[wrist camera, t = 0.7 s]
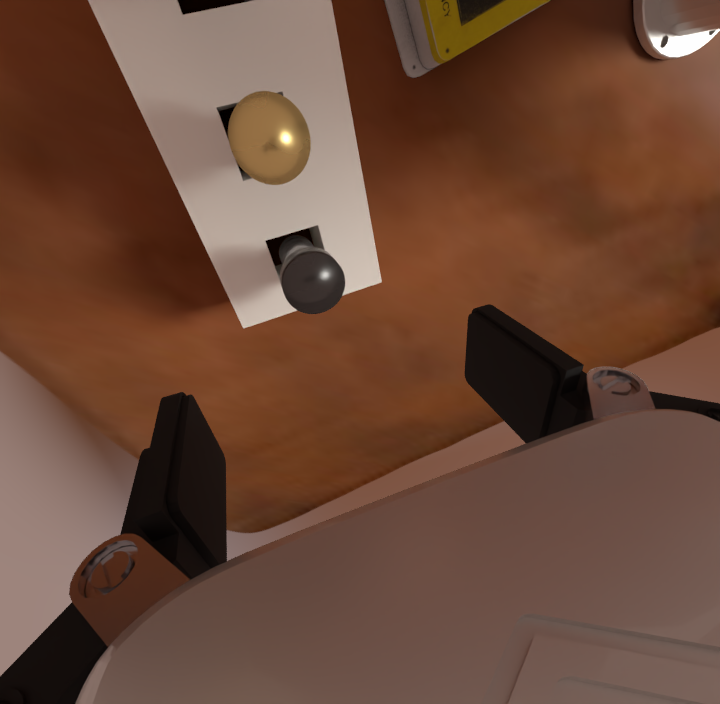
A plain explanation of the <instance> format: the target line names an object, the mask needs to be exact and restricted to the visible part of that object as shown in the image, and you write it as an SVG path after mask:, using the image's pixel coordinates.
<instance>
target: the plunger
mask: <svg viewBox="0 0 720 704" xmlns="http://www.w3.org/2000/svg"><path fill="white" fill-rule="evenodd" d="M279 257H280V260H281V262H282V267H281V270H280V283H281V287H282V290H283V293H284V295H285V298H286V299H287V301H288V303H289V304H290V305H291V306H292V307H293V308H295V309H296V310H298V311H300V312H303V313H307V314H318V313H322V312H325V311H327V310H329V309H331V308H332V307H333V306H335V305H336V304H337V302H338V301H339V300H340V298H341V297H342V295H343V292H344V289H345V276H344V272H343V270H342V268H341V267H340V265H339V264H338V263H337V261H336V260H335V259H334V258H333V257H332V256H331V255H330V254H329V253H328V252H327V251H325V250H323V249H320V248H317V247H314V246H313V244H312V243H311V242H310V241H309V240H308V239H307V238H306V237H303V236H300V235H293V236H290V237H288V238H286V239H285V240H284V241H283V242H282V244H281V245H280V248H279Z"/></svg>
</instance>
